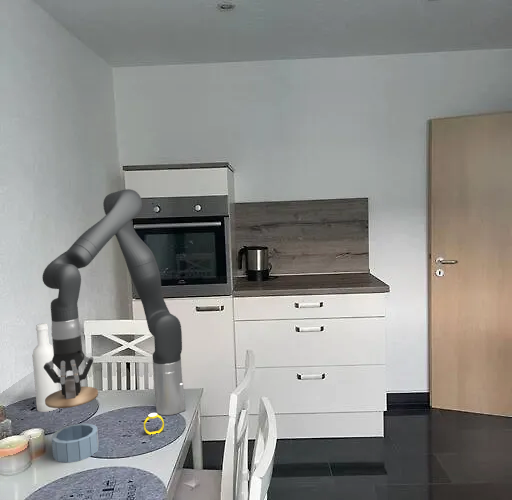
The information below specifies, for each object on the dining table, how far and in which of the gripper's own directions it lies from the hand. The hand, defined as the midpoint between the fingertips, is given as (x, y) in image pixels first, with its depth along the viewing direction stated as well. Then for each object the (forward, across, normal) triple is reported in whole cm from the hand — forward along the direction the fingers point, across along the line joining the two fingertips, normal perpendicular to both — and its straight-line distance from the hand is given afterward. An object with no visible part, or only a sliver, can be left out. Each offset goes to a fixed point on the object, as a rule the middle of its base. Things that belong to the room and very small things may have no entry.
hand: (71, 394), depth 139 cm
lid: (+1, 0, 0) cm, 1 cm away
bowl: (+17, 0, 0) cm, 17 cm away
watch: (+17, -22, -4) cm, 28 cm away
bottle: (+17, +13, -38) cm, 44 cm away
